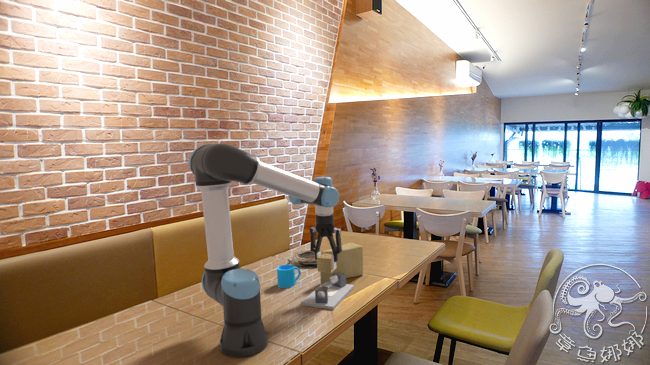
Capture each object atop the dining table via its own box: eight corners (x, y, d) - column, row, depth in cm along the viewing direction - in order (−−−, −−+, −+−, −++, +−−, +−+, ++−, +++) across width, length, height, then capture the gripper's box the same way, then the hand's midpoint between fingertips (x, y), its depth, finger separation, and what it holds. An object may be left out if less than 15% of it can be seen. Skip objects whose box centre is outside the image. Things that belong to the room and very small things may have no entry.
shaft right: (338, 282, 170) (337, 271, 169) (346, 285, 166) (345, 273, 166) (327, 287, 165) (327, 275, 164) (335, 289, 161) (335, 278, 161)
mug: (283, 289, 168) (282, 271, 167) (274, 284, 174) (273, 267, 173) (305, 282, 175) (305, 265, 174) (295, 278, 181) (295, 261, 181)
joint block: (336, 268, 160) (335, 254, 159) (331, 273, 155) (330, 258, 154) (323, 266, 163) (323, 253, 162) (317, 271, 157) (317, 257, 156)
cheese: (327, 286, 169) (326, 254, 167) (315, 281, 176) (314, 249, 175) (364, 275, 182) (363, 245, 180) (351, 270, 190) (350, 241, 188)
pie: (317, 252, 226) (317, 244, 225) (347, 263, 204) (347, 254, 204) (277, 262, 209) (276, 253, 208) (305, 275, 187) (305, 265, 187)
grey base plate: (333, 309, 144) (333, 306, 144) (301, 304, 150) (301, 301, 150) (354, 287, 166) (354, 284, 166) (325, 284, 172) (325, 281, 172)
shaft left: (327, 303, 148) (327, 290, 147) (315, 303, 148) (315, 290, 148) (328, 296, 155) (328, 284, 154) (317, 296, 155) (316, 284, 155)
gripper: (349, 213, 155) (351, 267, 158) (308, 211, 163) (310, 263, 165) (342, 216, 148) (344, 273, 151) (300, 214, 156) (302, 269, 159)
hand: (326, 268), depth 158 cm, fingers closed on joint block, 6 cm apart
